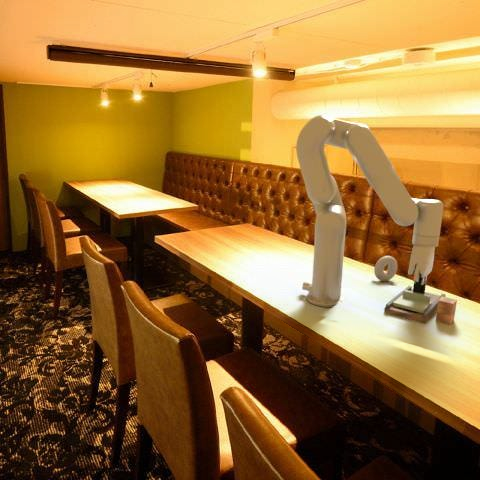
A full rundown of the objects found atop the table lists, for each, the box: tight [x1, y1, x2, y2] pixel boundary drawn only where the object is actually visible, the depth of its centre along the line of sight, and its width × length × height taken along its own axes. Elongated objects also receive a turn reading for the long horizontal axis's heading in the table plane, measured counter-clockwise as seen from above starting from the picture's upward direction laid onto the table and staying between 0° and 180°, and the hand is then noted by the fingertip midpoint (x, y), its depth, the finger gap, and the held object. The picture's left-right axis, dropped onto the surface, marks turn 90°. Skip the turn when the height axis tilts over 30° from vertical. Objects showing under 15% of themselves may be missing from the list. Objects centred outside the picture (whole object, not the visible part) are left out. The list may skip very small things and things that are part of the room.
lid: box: [393, 289, 432, 313], centre depth 135 cm, size 9×8×3 cm
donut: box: [373, 255, 398, 282], centre depth 165 cm, size 10×4×10 cm, turn 113°
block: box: [435, 296, 458, 326], centre depth 128 cm, size 4×4×8 cm
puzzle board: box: [383, 285, 446, 324], centre depth 139 cm, size 12×22×4 cm, turn 141°
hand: (418, 295), depth 139 cm, fingers closed
